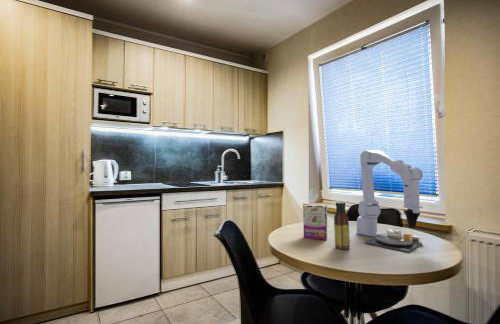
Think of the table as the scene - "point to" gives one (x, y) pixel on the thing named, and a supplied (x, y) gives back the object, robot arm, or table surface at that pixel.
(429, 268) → the table surface
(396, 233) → the cover
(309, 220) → the candy bar box
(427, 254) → the table surface
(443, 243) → the table surface
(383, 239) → the turntable
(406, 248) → the base plate
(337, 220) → the sauce bottle
